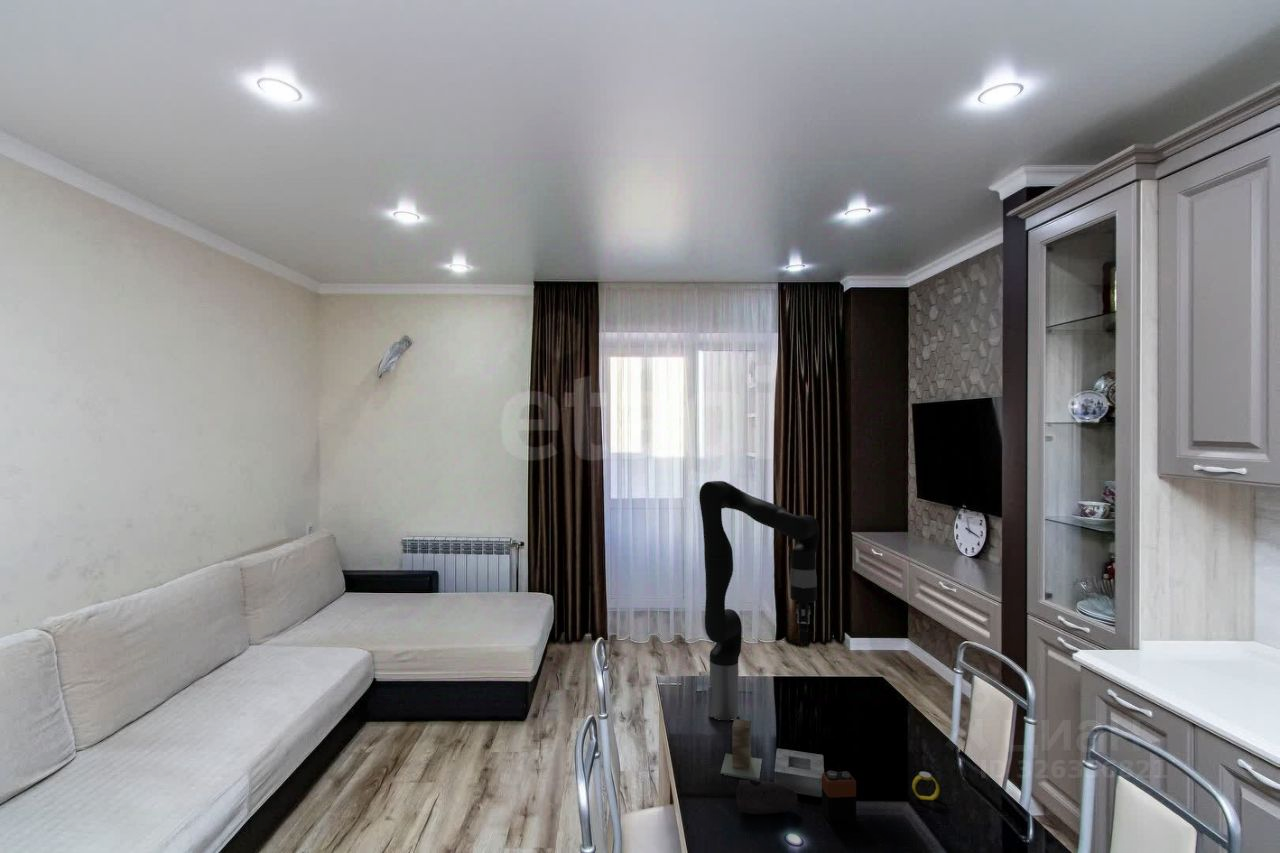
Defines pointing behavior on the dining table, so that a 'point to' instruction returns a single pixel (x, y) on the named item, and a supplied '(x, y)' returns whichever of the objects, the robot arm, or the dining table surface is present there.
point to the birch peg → (741, 744)
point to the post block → (799, 771)
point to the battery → (838, 796)
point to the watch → (926, 777)
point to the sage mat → (751, 774)
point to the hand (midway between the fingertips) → (803, 639)
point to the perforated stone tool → (764, 797)
